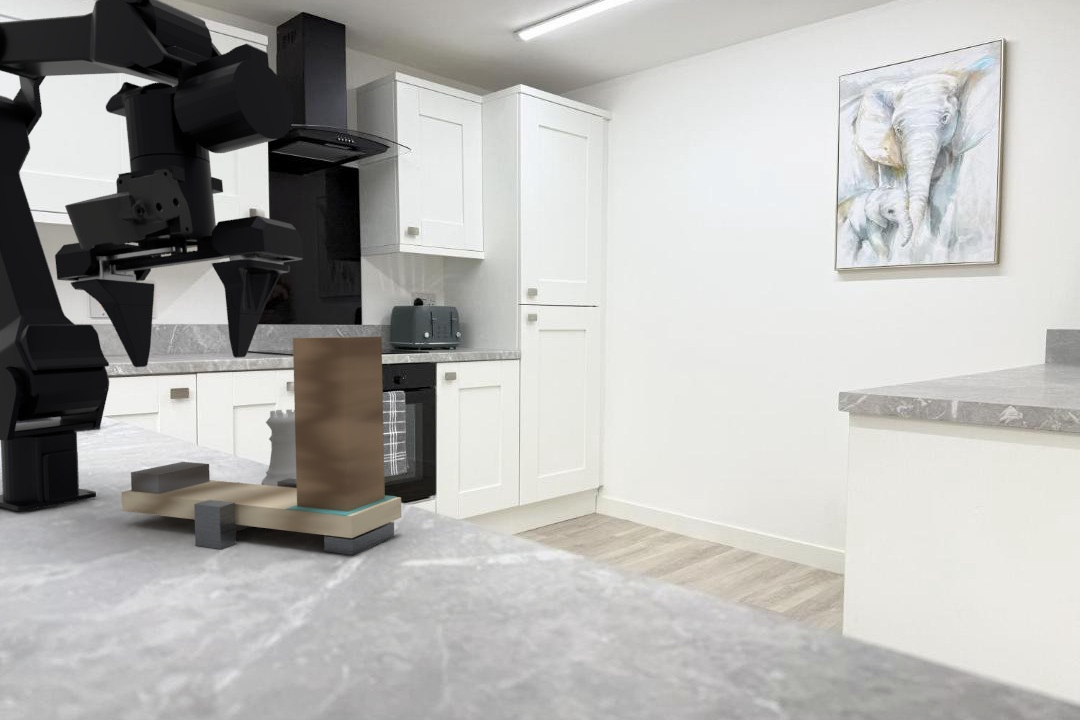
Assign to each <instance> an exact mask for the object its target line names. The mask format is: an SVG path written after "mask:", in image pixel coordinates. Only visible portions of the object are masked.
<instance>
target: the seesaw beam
mask: <svg viewBox="0 0 1080 720" xmlns="http://www.w3.org/2000/svg"><path fill="white" fill-rule="evenodd" d="M210 475H211V474H210V463H206V462H205V463H203V462H191V461H190V462H189V461H180V462H174V463H170V464H165V465H161V466H160V465H159V466H155V467H150V468H146V469H141V470H135V471H131V472H130V486H131V487H130V489H128V490H125V491H121V493H120V495H121V496H120V497H121V511H122V512H129V513H137V514H138V513H139V514H144V515H145V514H147V515H154V516H162V517H163V516H164V517H170V518H180V519H187V520H188V519H189V520H195V509H194V504H196V503H200V502H204V501H207V500H216V501H224V502H233V503H235V530H236V532H239V531H241V530H245V529H248V528H251V527H256V528H261V529H262V528H265V529H272V530H280V531H289V532H296V533H297V532H298V533H305V534H313V535H324V536H326V535H329V536H338V537H346V538H354V537H356V536H358V535H361V534H363V533H365V532H368V531H370V530H373V529H375V528H377V527H380V526H382V525H384V524H387V523H389V522H394V521H396V520H399V519H401V518H402V497H399V496H398V497H397V496H395V495H386V494H385V498H384V499H381V500H379V501H376V502H373V503H370V504H368V505H365V506H362V507H360V508H357V509H354V510H351V511H349V512H346V511H336V510H326V509H316V508H307V507H297V488H291V487H280V486H269V485H261V484H254V483H245V482H235V481H233V482H232V481H224V480H212V479H210Z"/></svg>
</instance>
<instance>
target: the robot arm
mask: <svg viewBox="0 0 1080 720" xmlns="http://www.w3.org/2000/svg"><path fill="white" fill-rule="evenodd" d="M93 5H94V6H93V10H92V11H91V12H89V13H87V14H81V15H79V14H78V15H71V16H70V15H69V16H59V17H48V18H47V17H46V18H45V17H44V18H34V19H25V20H24V19H23V20H11V21H0V72H5V73H7V74H11V75H15V76H18V80H19V86H20V89H19V90H18V92H17V93H16V95H15V96H14V97H13V99H11V98H10V97H7V96H4V95H0V454H1V455H0V456H1V457H0V458H1V459H0V460H1V461H0V463H1V483H2V494H0V508H5V509H8V510H12V511H16V512H24V511H31V510H36V509H42V508H47V507H51V506H55V505H62V504H66V503H67V504H68V503H71V502H77V501H82V500H83V501H84V500H86V499H93V498H96V497H97V491H95V490H90V489H85V488H81V487H80V484H79V483H80V480H79V479H80V478H79V452H78V431H81V430H86V429H88V430H89V429H90V430H91V429H92V430H94V429H99V428H101V424H102V420H103V416H104V412H105V406H106V402H107V397H108V393H109V389H110V378H109V375H108V371H107V369H106V367H109V366H110V362H109V361H108V360H107V358H106V357H105V355H104V352H103V351H102V347H101V343H100V338H99V333H98V332H97V330H96V329H95V327H94V325H92V324H75V323H74V322H73V321H72V320H70V319H69V318H68V317H67V316H66V315H65V313H64V311H63V307H62V304H61V301H60V298H59V295H58V292H57V289H56V286H55V283H54V279H53V276H52V273H51V270H50V266H49V263H48V261H47V258H46V254H45V251H44V248H43V244H42V241H41V238H40V236H39V232H38V229H37V225H36V223H35V222H36V221H35V220H34V217H33V214H32V210H31V207H30V205H29V201H28V198H27V194H26V192H25V188H24V185H23V183H22V178H21V173H20V172H21V170H22V168H23V166H24V163H25V162H26V159H27V156H28V155H29V153H30V150H31V142H30V138H29V137H30V136H29V135H30V134H31V133H32V131H33V129H34V128H35V126H36V125H37V123H38V122H39V120H40V119H41V117H42V116H43V115H42V114H43V109H42V100H41V92H40V86H41V84H43V81H44V80H45V78H46V77H52V76H53V77H54V76H57V77H58V76H78V75H80V76H81V75H104V74H125V75H129V76H134V77H137V78H141V79H145V80H148V81H152V83H149V84H146V85H143V86H141V85H137V84H135V83H131V82H128V81H125V82H123V83H122V85H121V88H120V89H119V91H118V92H116V93H115V94H114V95H113V94H112V96H110V98H109V99H108V101H107V103H106V104H105V110H106V112H108V113H109V114H113V115H117V116H121V117H124V118H125V122H126V132H127V133H126V134H127V144H128V155H129V168H130V169H129V170H130V171H129V172H124V173H123V172H122V173H118V175H117V176H118V177H117V179H116V181H115V182H116V183H115V185H116V193H112V194H111V193H110V194H107V195H102V196H99V197H94V198H93V197H92V198H91V199H86V200H81V201H78V202H73V203H69V204H66V205H65V206H64V207H65V210H66V213H67V215H68V218H69V221H70V223H71V225H72V228H73V231H74V234H75V235H76V239H77V242H73V243H67V244H63V245H62V246H61V248H59V250H58V251H57V252H56V254H55V255H54V259H55V270H56V280H57V281H66V282H68V281H69V282H70V285H71V287H72V288H73V289H74V290H76V291H85V292H86V293H87V294H88V295H90V297H92V298H93V299H94V300H96V301H97V303H99V305H101V308H102V309H103V311H104V312H105V314H106V315H107V317H108V318H109V320H110V322H111V324H112V326H113V328H114V330H115V332H116V334H117V336H118V338H119V340H120V342H121V344H122V346H123V348H124V350H125V352H126V353H127V356H128V358H129V360H130V361H131V364H132V366H133V367H135V368H144V367H146V368H147V366H148V364H149V359H150V358H149V357H150V353H151V343H152V330H153V329H152V327H153V315H154V314H153V313H154V311H153V310H154V300H155V299H154V297H155V283H149V282H143V281H145V280H146V278H147V277H148V276H149V274H150V272H151V271H152V269H158V268H165V267H172V266H178V265H179V266H180V265H188V264H192V263H193V264H195V263H200V262H208V261H216V260H223V259H229V260H227V261H226V260H225V261H219V262H213V263H211V265H212V268H213V269H214V271H215V273H216V275H217V277H218V278H219V280H220V281H221V283H222V285H223V287H224V295H225V296H224V297H225V304H226V305H225V306H226V315H227V316H226V317H227V318H226V319H227V327H228V337H229V343H230V347H231V352H232V356H233V358H236V359H239V358H245V357H246V356H247V354H248V351H249V349H250V346H251V343H252V341H253V339H254V335H255V332H256V330H257V328H258V325H259V323H260V320H261V317H262V315H263V311H264V309H265V307H266V304H267V303H268V302H269V299H270V297H271V295H272V293H273V291H274V289H275V287H276V285H277V282H278V280H279V279H280V277H281V276H282V275H283V274H287V273H289V272H290V265H288V264H284V263H288V262H296V261H302V260H304V253H303V251H304V250H303V243H302V242H303V241H302V237H301V235H300V233H299V232H298V230H297V229H296V227H295V226H294V225H293V224H292V223H288V222H285V221H284V222H283V221H280V220H277V219H276V220H275V219H271V218H268V217H264V216H260V215H255V216H254V215H253V216H248V217H247V216H246V217H241V218H235V219H227V220H221V221H218V222H217V223H216V213H215V211H216V210H215V203H214V202H215V201H214V195H215V194H221V193H222V194H223V193H224V186H223V179H220V178H217V177H213V176H212V171H211V170H212V169H211V159H210V153H213V154H225V153H229V152H233V151H236V150H237V151H238V150H241V149H245V148H249V147H253V146H256V145H260V144H264V143H269V142H272V141H276V140H279V139H282V138H284V137H285V136H286V135H287V134H288V133H289V132H290V130H291V128H292V125H293V121H294V108H293V102H292V100H291V99H290V98H289V95H288V93H287V90H286V88H285V86H284V84H283V82H282V81H281V79H280V77H279V76H278V75H277V74H276V72H275V71H274V70H273V69H272V68H271V67H270V64H269V63H270V61H269V53H268V52H267V51H265V50H262V49H260V48H258V47H256V46H253V45H251V44H248V43H244V44H242V45H239V46H236V47H234V48H232V49H231V50H230V51H228V52H226V53H221V52H220V50H219V49H218V48H217V47H216V46H215V44H214V43H213V39H212V35H211V33H210V30H209V27H208V26H207V25H206V21H204V19H201V18H200V17H198V16H195V15H193V14H191V13H188V12H186V11H183V10H181V9H179V8H177V7H174V6H173V5H171V4H168V3H166V2H163V1H161V0H96V1H95V2H94V4H93ZM132 243H133V244H132ZM136 244H137V245H136ZM191 248H197V249H196V250H192V251H191V250H190V251H188V249H191ZM163 255H164V256H163ZM52 418H60V419H52ZM42 419H43V420H44V419H52V420H44V421H43V420H42ZM36 420H42V421H37V422H36ZM28 421H33V422H28ZM34 421H35V422H34ZM17 422H27V423H19V424H17Z"/></svg>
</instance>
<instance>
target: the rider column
mask: <svg viewBox="0 0 1080 720" xmlns="http://www.w3.org/2000/svg"><path fill="white" fill-rule="evenodd" d="M382 340H383V338H382V336H324V337H323V336H320V337H318V336H317V337H292V352H293V353H292V357H293V359H292V361H293V395H294V398H293V399H294V402H293V403H294V410H295V442H296V481H297V507H307V508H316V509H326V510H336V511H346V512H349V511H351V510H354V509H357V508H360V507H362V506H365V505H368V504H370V503H373V502H376V501H379V500H381V499H384V498H385V495H386V494H385V493H386V490H385V449H384V448H385V443H384V439H385V438H384V399H383V398H384V397H383V394H384V393H383V392H384V391H383V387H384V386H383V347H382V344H383V342H382Z"/></svg>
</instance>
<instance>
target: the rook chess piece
mask: <svg viewBox="0 0 1080 720" xmlns="http://www.w3.org/2000/svg"><path fill="white" fill-rule="evenodd" d="M285 410H286V411H285V412H286V413H284V412H283V410H282V409H275V410H270V413H269V418H268V419H267V420H266V421H265V424H266V425H267V426H268V427H269V429H270V431H271V436H270V437H269V438H268V440H269V441H270V443H271V446H270V447H271V451H270V459H269V465H268V469H267V470H266V471H265V474H266V476H265V477H264V478H263V479H262V481H261V484H260V485H269V486H277V481H281V480H285V479H289V478H291V479H296V442H295V409H285Z"/></svg>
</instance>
